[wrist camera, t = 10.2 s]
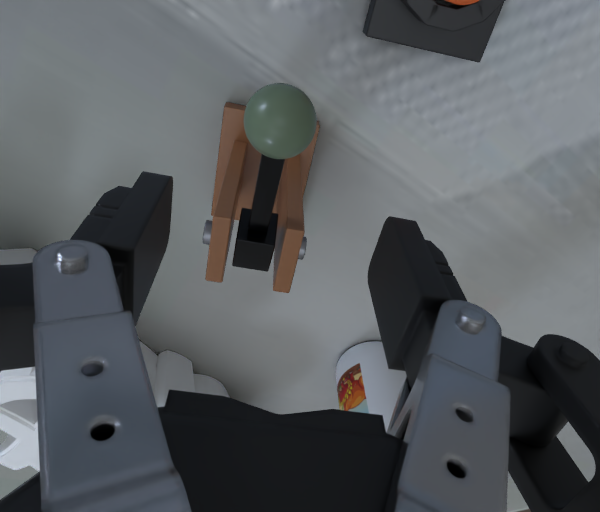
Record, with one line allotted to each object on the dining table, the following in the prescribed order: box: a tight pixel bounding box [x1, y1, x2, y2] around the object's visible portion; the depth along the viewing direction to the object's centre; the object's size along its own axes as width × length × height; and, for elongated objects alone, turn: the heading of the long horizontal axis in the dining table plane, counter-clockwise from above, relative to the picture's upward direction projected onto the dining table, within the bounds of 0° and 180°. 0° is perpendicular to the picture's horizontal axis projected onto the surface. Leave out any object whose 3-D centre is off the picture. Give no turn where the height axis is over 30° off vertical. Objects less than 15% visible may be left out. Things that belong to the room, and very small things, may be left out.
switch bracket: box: [203, 102, 320, 293], centre depth 31 cm, size 9×7×13 cm
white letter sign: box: [0, 248, 230, 472], centre depth 43 cm, size 35×16×11 cm, turn 36°
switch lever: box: [232, 83, 317, 271], centre depth 24 cm, size 12×3×3 cm, turn 167°
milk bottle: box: [336, 341, 407, 433], centre depth 41 cm, size 8×8×20 cm
